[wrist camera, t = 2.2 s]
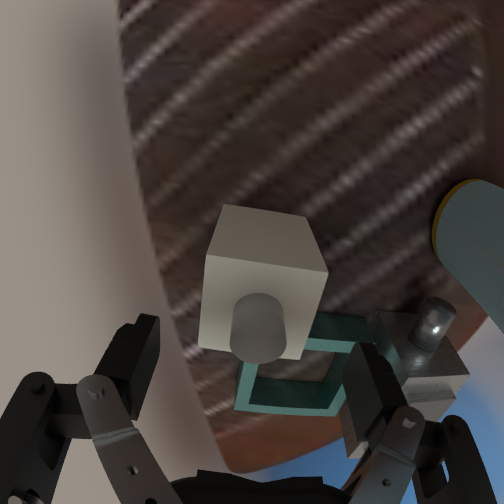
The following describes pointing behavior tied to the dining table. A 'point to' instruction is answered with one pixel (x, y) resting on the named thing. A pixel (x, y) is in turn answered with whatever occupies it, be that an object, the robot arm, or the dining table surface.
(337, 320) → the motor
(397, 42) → the dining table surface
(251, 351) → the white cube with peg
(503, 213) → the bottle
